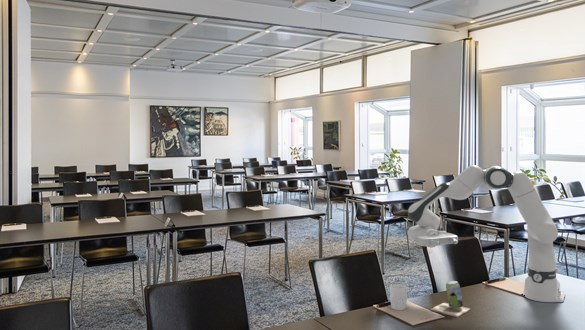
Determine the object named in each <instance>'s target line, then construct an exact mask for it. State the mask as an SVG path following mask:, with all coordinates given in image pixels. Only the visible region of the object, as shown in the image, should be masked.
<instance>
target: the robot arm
mask: <svg viewBox="0 0 585 330" xmlns="http://www.w3.org/2000/svg"><path fill="white" fill-rule="evenodd" d="M483 185H486V186H488V187H489V188H492V189H496V190H497V189H498V190H500V189H507V190H508V191H509V193H510V195H511V197H512V199H513V202H514V204H515V205H516V207H517V209H518V211H519V213H520V215H521V216H522V218H523V220H524V222H525V224H526V225H527V226H526V229H527V230H526V231H527V244H528V264H529V265H528V268H527V275H528V276H527V277H526V278H525V279H524V284H523V285H524V288H523V291H521V292H520V294H521V293H522V294H523V295H522V296H524V295H525V296H524V297H525V298H527V299H529V300H531V301H535V302H541V303H563V302H564V301H565V298H564V297H566V293H565V292H563V291H561V283H560V282H559V280H558V279H557V273H558V271H557V268H555V267H556V266H555V263H556V262H555V256H556V255H555V254H556V253H555V249H554V243H553V242H555V241H556V240H557V238H558V236H559V231H558V228H557V225H556V224H555V222H554V220H553V219H552V216H551V215H550V213H549V211H548V210H547V208H546V206H545V205H544V203H543V201H542V199H541V197H540V195H539V193H538V192H537V189H536V188H535V185H534V184H533V182H532V181H531V179H530V177H529V176H528V175H527V174H526V172H524V171H521V170H520V171H519V170H518V171H513V172H510V171H508V170H507V169H505V168H504V167H501V166H500V165H492V166H491V165H490V166H488V167H485V168H482V167H480V166H478V165H475V164H472V165H469V166H467V168H465V169H463V170H462V171H461V172H460V173H459V174H458V175H457V176H456V177H455V178H454V179H452V180H451V181H449V182H442V183H440V184H439V185H437V186H436V187H435V188H433V189H431V191H430V192H428V193H427V194H426V195H424V196H422V197H421V198H420V199H419V200H417V201H415V202H413V203H412V204H411V205H410V206H409V207H408V209H407V217H408V219H409V220H410V221H412V222H413V223H415V224H416V225H413V226H410V227H409V228H408V230H407V237H408V239H409V240H410V241H411V242H413V243H414V244H415V243H416V244H417V245H418V246H420V247H421V246H422V247H428V248H431V249H432V248H435V247H437V246H438V247H439V246H443V245H452V244H454V245H457V244H458V243H459V236H458V235H456V234H454V233H452V232H451V233H450V232H447V231H446V230H440V228H441V226H442V225H441V224H442V220H441V217H440V216H439V215H437V214H436V213H434V212H433V211H432V210H430V208H428V207H430V206H431V205H433V204H434V202H436V201H437V200H439V199H441V198H449V199H453V200H457V201H463V200H467V198H469V197H470V196H471V195H472V194H473V193H474V192H475V191H476V190H477V189H478V188H480V187H481V186H483Z"/></svg>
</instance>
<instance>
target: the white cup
mask: <svg viewBox="0 0 585 330" xmlns="http://www.w3.org/2000/svg"><path fill="white" fill-rule="evenodd" d="M389 297H390V308H391V309H392V310H395V311H404V310H406V309H407V301H408V300H407V298H408V286H407V285H405V284H399V283H394V284H390V285H389Z"/></svg>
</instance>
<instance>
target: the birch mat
mask: <svg viewBox="0 0 585 330" xmlns="http://www.w3.org/2000/svg"><path fill="white" fill-rule="evenodd" d="M471 309H472V308H469V307H464V306H462V307H461V308H459V309H453V308H451V307H449V302H448V303H447V302H442V303H440V304H438V305H435V306H434V307H431V308H430V309H429V310H430V311H432V312H435V313H439V314H444V315H447V316H451V317H455V318H459V317H461V316H463V315H464V314H466V313H468V312H470V311H472V310H471Z"/></svg>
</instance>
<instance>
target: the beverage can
mask: <svg viewBox="0 0 585 330" xmlns="http://www.w3.org/2000/svg"><path fill="white" fill-rule="evenodd" d="M445 288H446V289H445V290H446V295H447V296H446V297H447V301H448V304H449V307H451V308H453V309H459V308H461V307H464V304H463V298H462V293H461V291H462V290H461V286H460V284H459V282H458V281H457V280H450V281H447V282H446V284H445Z"/></svg>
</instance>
